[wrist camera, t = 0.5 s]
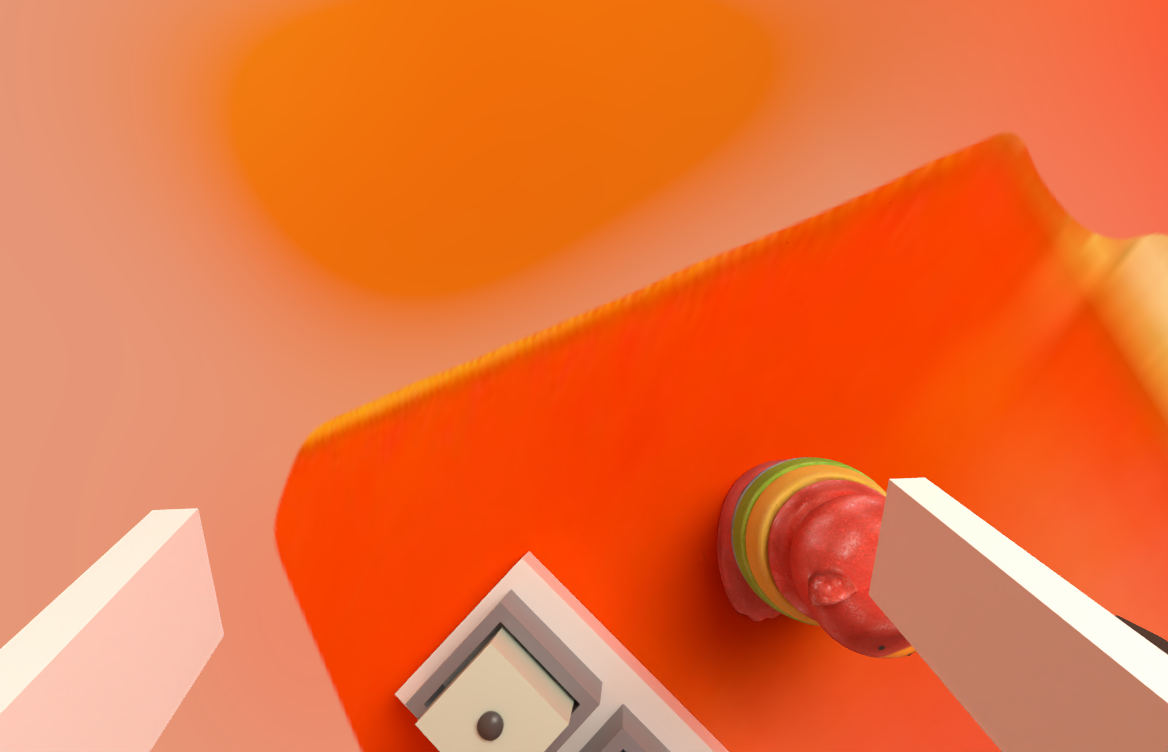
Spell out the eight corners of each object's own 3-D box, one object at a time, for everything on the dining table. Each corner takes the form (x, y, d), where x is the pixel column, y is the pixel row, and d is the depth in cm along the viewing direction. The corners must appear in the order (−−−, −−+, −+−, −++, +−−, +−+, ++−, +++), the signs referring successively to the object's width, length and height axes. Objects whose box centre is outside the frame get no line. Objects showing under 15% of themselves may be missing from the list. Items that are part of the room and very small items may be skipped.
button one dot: (575, 695, 37) (568, 727, 33) (506, 770, 37) (490, 811, 33) (504, 623, 38) (489, 644, 34) (437, 695, 38) (413, 726, 33)
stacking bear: (736, 626, 42) (814, 752, 24) (689, 482, 43) (729, 503, 26) (890, 580, 42) (1081, 674, 24) (837, 436, 43) (981, 425, 25)
